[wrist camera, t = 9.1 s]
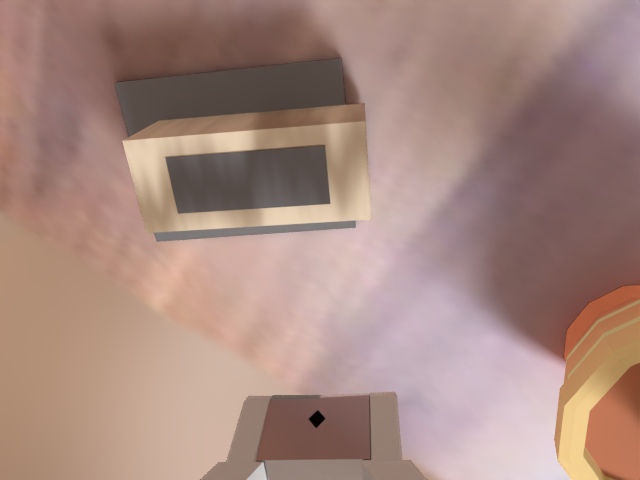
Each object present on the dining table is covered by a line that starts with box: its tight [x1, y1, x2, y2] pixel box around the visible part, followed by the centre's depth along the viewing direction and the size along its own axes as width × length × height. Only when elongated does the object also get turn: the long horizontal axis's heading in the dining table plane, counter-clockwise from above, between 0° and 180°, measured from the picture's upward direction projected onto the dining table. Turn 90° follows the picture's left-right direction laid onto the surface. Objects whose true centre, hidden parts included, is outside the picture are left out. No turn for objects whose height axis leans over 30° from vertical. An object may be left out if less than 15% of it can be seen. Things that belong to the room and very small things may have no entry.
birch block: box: [123, 103, 371, 233], centre depth 27 cm, size 5×5×12 cm
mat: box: [115, 58, 356, 242], centre depth 30 cm, size 10×13×1 cm
